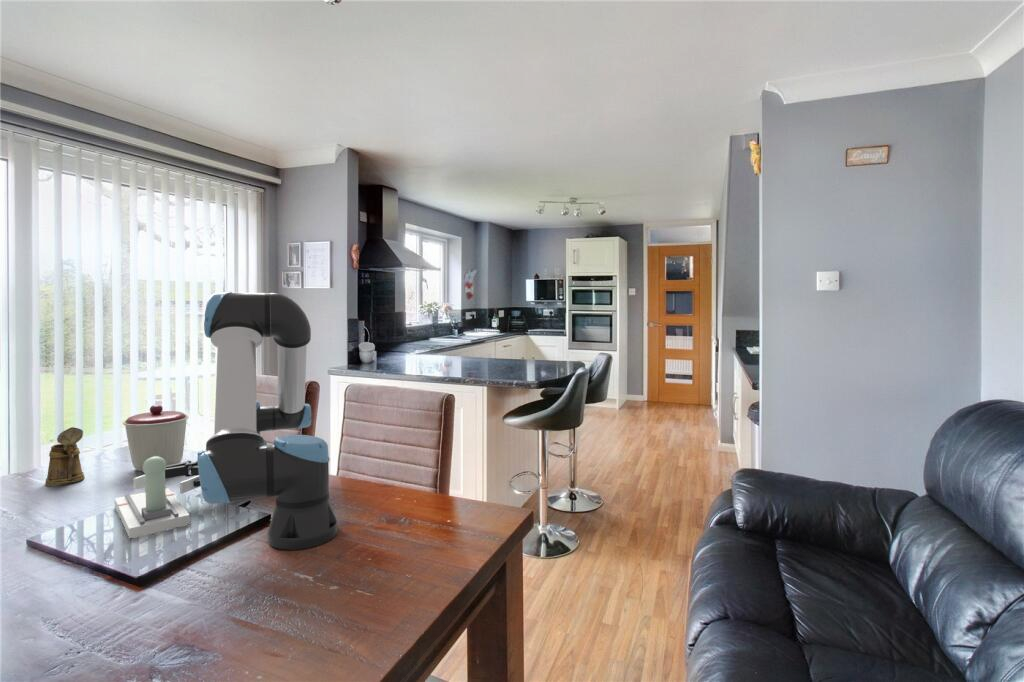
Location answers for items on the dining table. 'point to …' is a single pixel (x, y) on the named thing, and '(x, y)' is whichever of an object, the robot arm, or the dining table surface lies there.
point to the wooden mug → (65, 459)
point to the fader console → (138, 526)
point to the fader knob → (155, 489)
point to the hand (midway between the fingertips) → (157, 486)
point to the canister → (156, 436)
